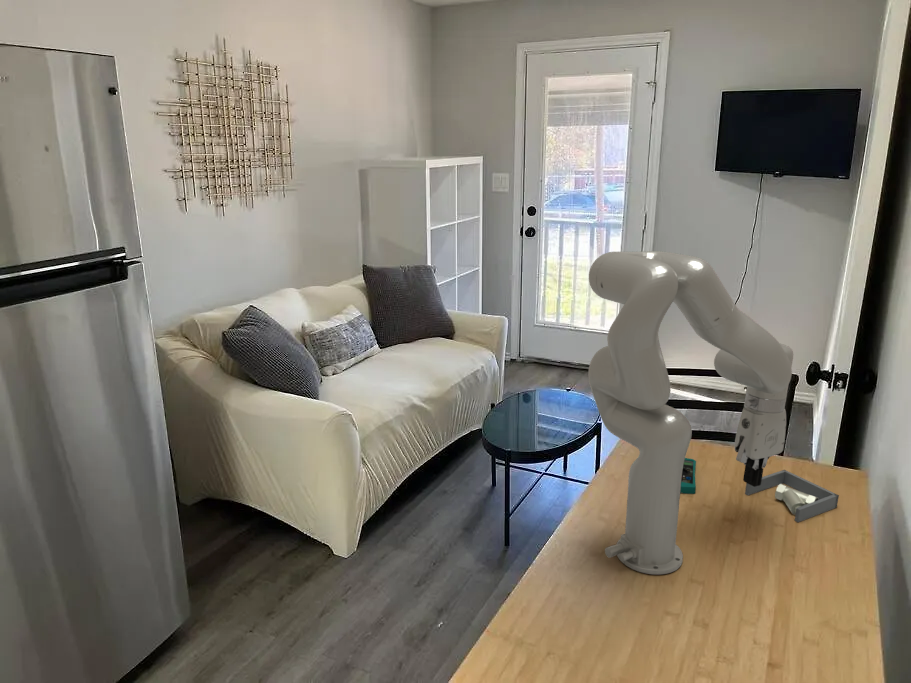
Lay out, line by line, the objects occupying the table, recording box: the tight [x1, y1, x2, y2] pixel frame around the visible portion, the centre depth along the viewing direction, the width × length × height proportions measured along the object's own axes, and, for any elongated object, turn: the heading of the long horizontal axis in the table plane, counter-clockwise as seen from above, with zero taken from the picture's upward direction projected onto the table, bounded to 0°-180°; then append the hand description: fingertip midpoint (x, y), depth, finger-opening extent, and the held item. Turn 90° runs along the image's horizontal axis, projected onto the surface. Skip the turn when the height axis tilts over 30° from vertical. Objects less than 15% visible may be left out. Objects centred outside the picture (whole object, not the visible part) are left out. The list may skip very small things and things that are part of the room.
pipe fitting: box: [774, 484, 819, 516], centre depth 145 cm, size 8×4×7 cm
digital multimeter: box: [680, 457, 697, 495], centre depth 159 cm, size 7×15×3 cm, turn 160°
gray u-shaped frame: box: [744, 469, 840, 523], centre depth 148 cm, size 13×14×3 cm
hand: (751, 483), depth 140 cm, fingers closed
